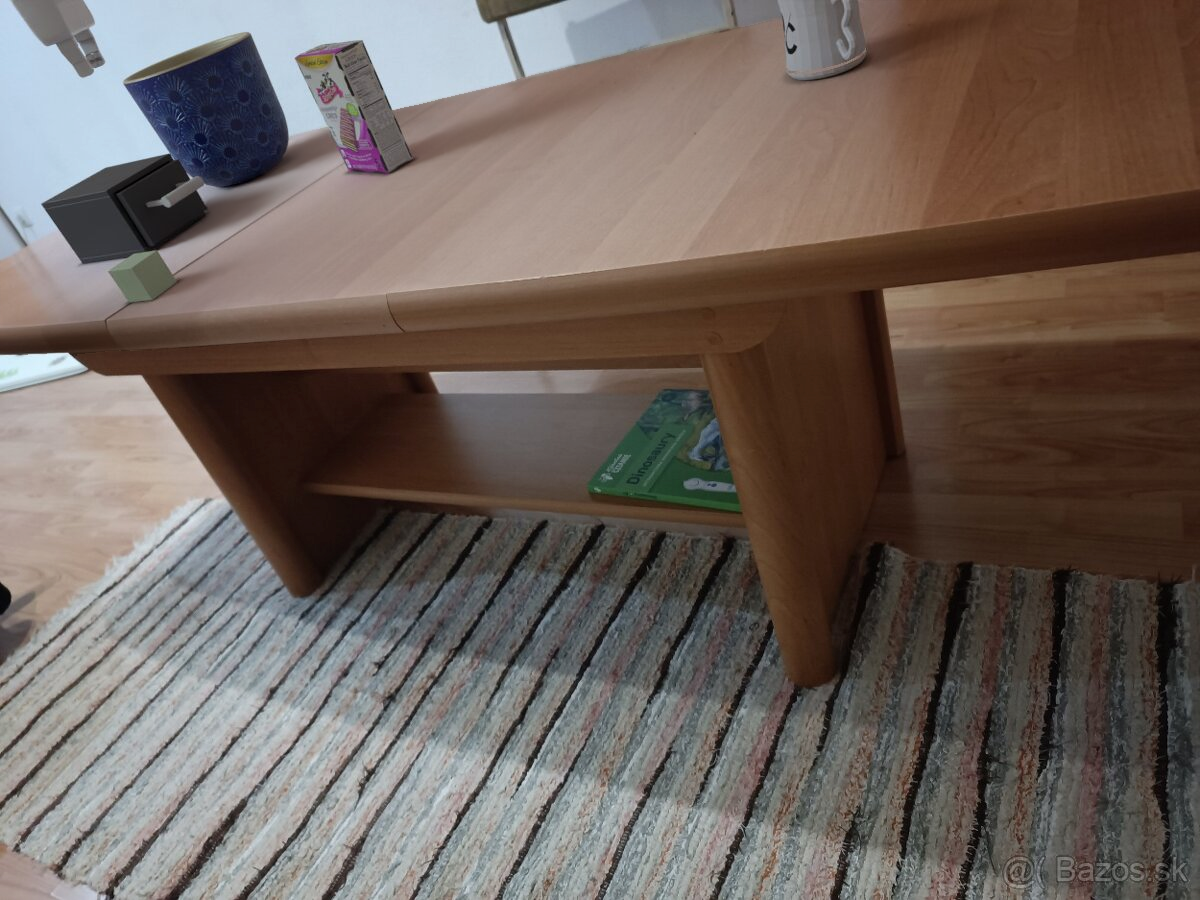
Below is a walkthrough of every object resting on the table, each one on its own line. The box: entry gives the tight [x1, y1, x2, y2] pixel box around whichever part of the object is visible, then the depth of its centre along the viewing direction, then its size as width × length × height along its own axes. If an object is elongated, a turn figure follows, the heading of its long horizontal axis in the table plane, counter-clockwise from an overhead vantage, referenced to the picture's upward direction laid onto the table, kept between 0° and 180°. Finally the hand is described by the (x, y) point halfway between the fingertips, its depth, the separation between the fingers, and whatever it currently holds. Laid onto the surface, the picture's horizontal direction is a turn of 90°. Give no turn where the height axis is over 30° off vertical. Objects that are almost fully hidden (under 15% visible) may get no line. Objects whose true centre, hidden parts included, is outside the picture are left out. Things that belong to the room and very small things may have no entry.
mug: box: [777, 0, 868, 81], centre depth 96 cm, size 12×9×10 cm
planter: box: [122, 31, 290, 188], centre depth 140 cm, size 21×21×19 cm
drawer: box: [114, 159, 208, 246], centre depth 126 cm, size 18×11×8 cm, turn 69°
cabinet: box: [40, 152, 206, 264], centre depth 128 cm, size 15×13×10 cm
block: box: [107, 249, 178, 303], centre depth 106 cm, size 4×4×4 cm
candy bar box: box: [294, 39, 414, 174], centre depth 119 cm, size 11×5×16 cm, turn 47°
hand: (94, 70), depth 118 cm, fingers open, 8 cm apart
